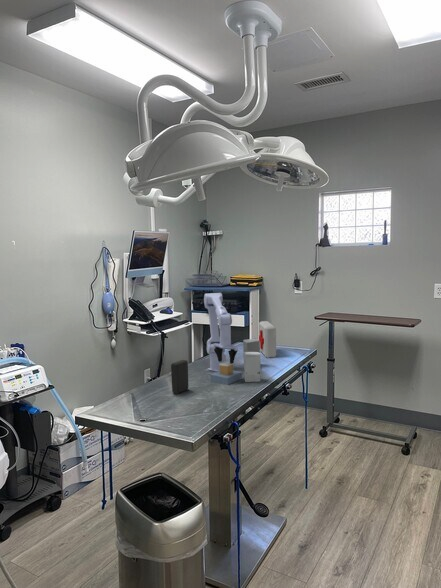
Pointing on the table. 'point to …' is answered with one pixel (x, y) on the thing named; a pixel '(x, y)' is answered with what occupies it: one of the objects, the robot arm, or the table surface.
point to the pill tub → (226, 368)
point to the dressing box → (226, 377)
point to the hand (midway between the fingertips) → (226, 362)
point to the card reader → (179, 376)
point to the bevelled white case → (267, 339)
